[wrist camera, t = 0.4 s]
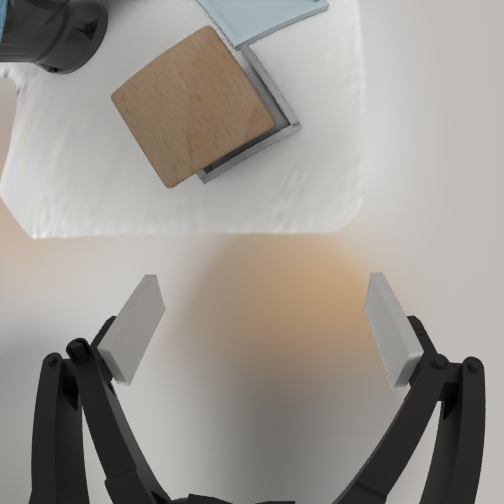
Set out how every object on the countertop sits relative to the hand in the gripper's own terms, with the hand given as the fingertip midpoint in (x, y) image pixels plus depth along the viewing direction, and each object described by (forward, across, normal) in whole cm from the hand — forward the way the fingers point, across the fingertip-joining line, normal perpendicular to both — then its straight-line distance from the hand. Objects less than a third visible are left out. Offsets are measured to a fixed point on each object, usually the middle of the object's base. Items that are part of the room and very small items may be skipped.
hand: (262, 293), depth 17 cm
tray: (+27, 0, +31) cm, 41 cm away
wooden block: (+27, -5, +11) cm, 30 cm away
